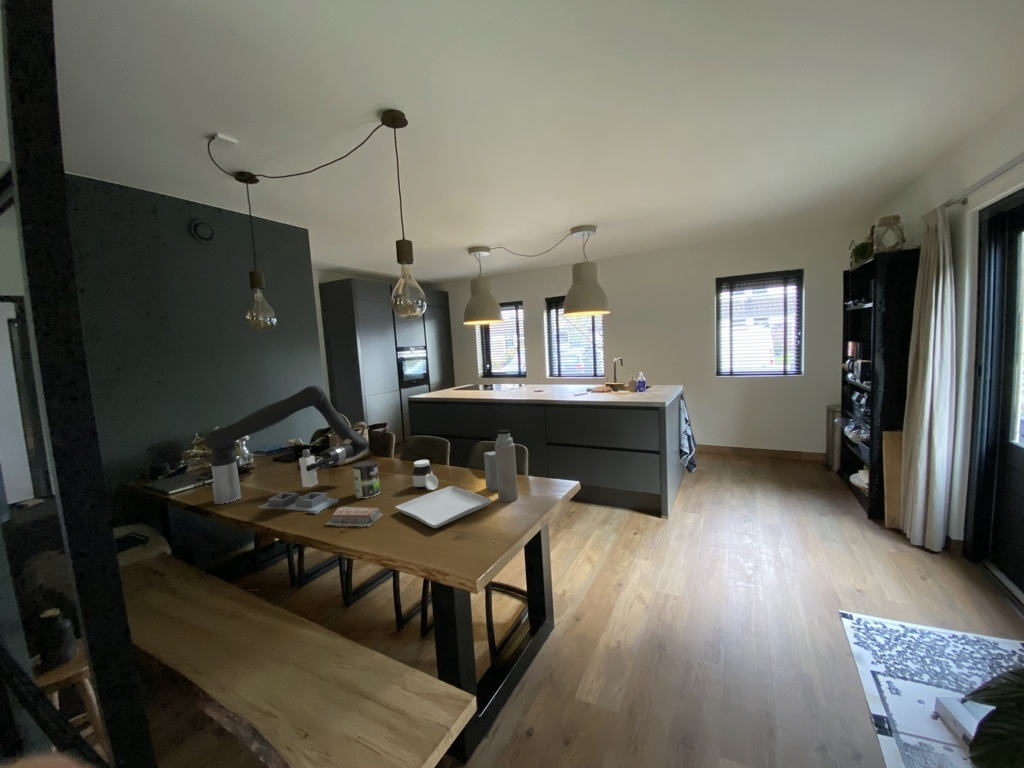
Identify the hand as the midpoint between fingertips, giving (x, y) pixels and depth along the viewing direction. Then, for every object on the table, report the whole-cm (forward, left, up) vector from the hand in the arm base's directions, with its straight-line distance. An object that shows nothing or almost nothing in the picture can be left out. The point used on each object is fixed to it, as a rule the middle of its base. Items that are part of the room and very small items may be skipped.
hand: (302, 468), depth 164 cm
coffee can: (+24, +5, -17) cm, 30 cm away
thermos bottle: (+77, -31, -17) cm, 84 cm away
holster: (-10, +12, -17) cm, 23 cm away
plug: (+2, +2, -8) cm, 8 cm away
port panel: (+2, +2, -17) cm, 17 cm away
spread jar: (+49, 0, -17) cm, 52 cm away
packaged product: (+18, -22, -18) cm, 34 cm away
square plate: (+51, -30, -18) cm, 61 cm away
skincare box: (+77, -17, -17) cm, 80 cm away
